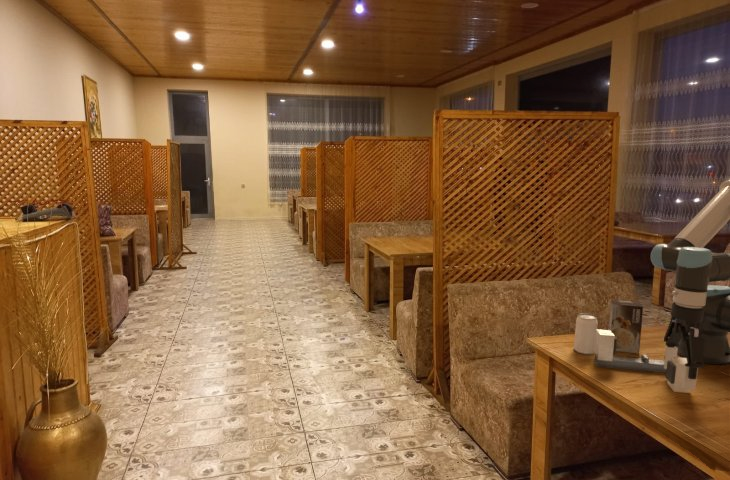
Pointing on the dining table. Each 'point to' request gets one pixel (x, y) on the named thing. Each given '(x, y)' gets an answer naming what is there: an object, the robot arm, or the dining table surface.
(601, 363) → the rail
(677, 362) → the white block
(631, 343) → the coffee box
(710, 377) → the dining table surface
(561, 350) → the dining table surface
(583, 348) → the can
